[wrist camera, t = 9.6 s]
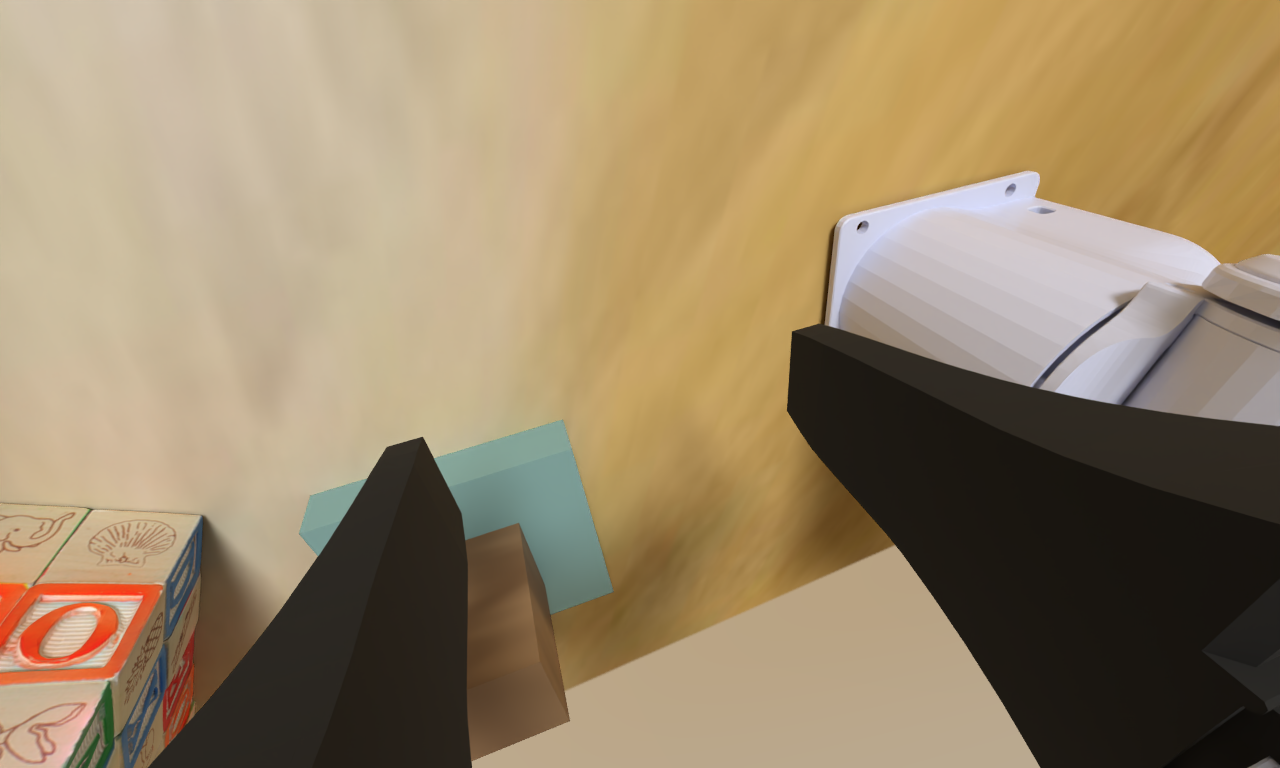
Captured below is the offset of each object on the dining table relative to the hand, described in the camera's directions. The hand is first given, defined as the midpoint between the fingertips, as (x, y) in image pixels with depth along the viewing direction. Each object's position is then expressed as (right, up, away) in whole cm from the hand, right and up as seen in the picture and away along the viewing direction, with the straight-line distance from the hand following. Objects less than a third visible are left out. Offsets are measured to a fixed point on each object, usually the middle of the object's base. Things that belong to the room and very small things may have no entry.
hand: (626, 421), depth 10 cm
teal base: (-7, -6, +14) cm, 17 cm away
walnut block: (-7, -7, +12) cm, 16 cm away
